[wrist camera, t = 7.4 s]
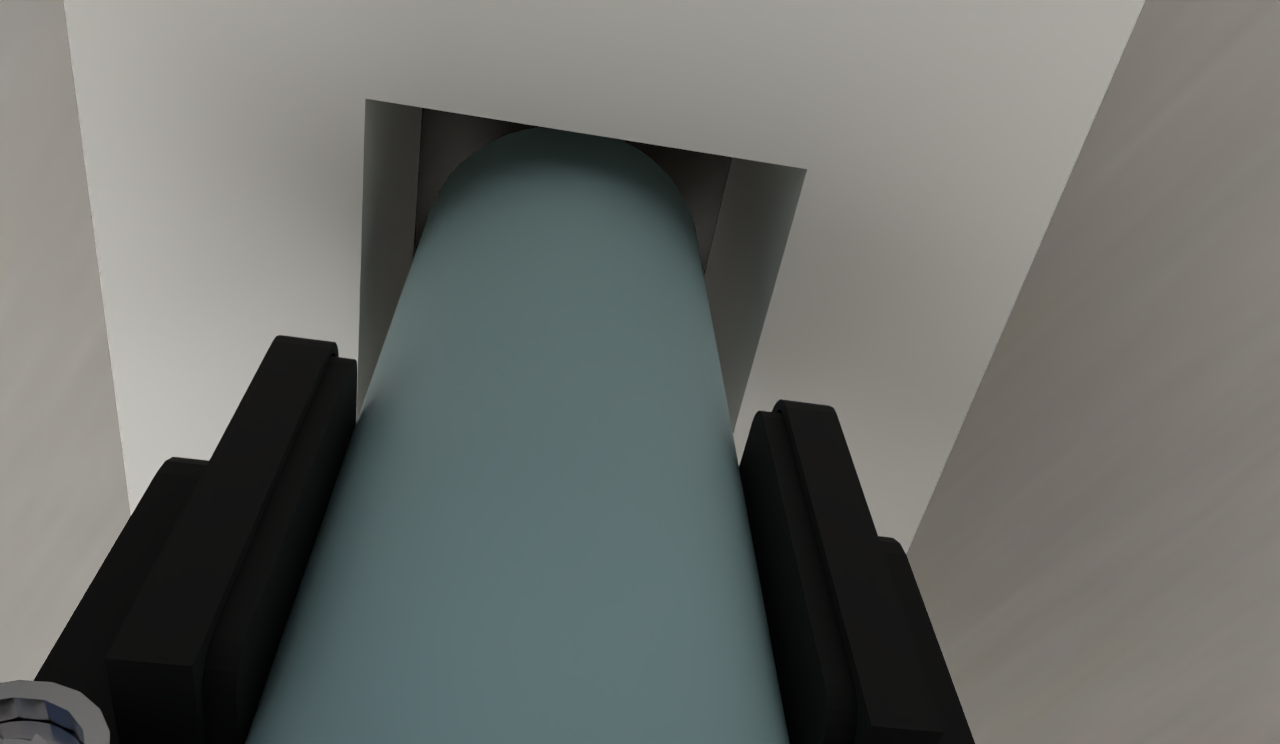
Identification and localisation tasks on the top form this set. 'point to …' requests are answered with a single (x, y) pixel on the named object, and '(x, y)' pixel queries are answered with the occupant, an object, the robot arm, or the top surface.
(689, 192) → the top surface
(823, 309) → the socket block
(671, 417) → the peg
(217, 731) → the robot arm
